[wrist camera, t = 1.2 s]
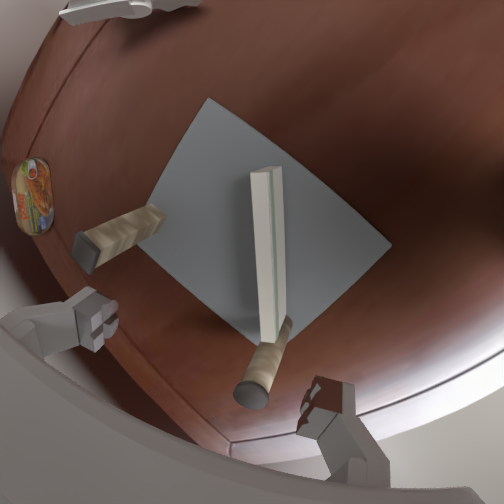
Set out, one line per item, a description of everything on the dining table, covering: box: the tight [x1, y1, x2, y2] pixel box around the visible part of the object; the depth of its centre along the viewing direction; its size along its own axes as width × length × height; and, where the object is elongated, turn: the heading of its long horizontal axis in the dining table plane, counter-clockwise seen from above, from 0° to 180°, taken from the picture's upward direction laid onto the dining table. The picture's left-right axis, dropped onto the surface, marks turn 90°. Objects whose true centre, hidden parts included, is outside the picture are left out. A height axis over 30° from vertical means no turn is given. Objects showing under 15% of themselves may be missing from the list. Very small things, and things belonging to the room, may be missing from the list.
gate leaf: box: [250, 166, 286, 343], centre depth 33 cm, size 19×2×6 cm, turn 4°
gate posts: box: [70, 203, 293, 409], centre depth 35 cm, size 26×4×15 cm, turn 54°
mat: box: [137, 98, 392, 346], centre depth 38 cm, size 28×24×1 cm
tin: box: [11, 157, 54, 236], centre depth 44 cm, size 15×3×8 cm, turn 177°
